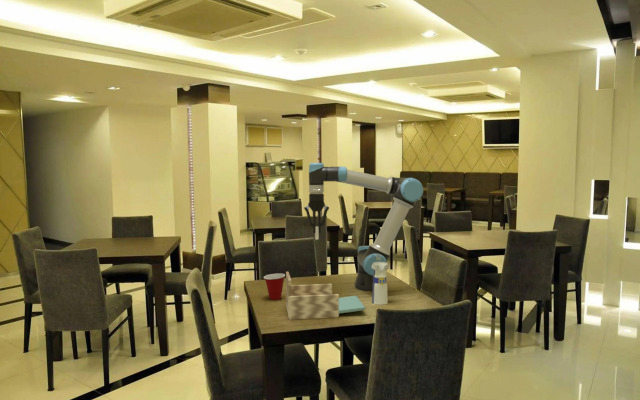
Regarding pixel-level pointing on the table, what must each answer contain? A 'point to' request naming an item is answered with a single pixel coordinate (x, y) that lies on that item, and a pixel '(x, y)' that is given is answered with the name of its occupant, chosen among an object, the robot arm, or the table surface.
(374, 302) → the blue-banded white tube
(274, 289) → the plastic cup
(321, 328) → the table surface
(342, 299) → the teal flat panel
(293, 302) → the crate
